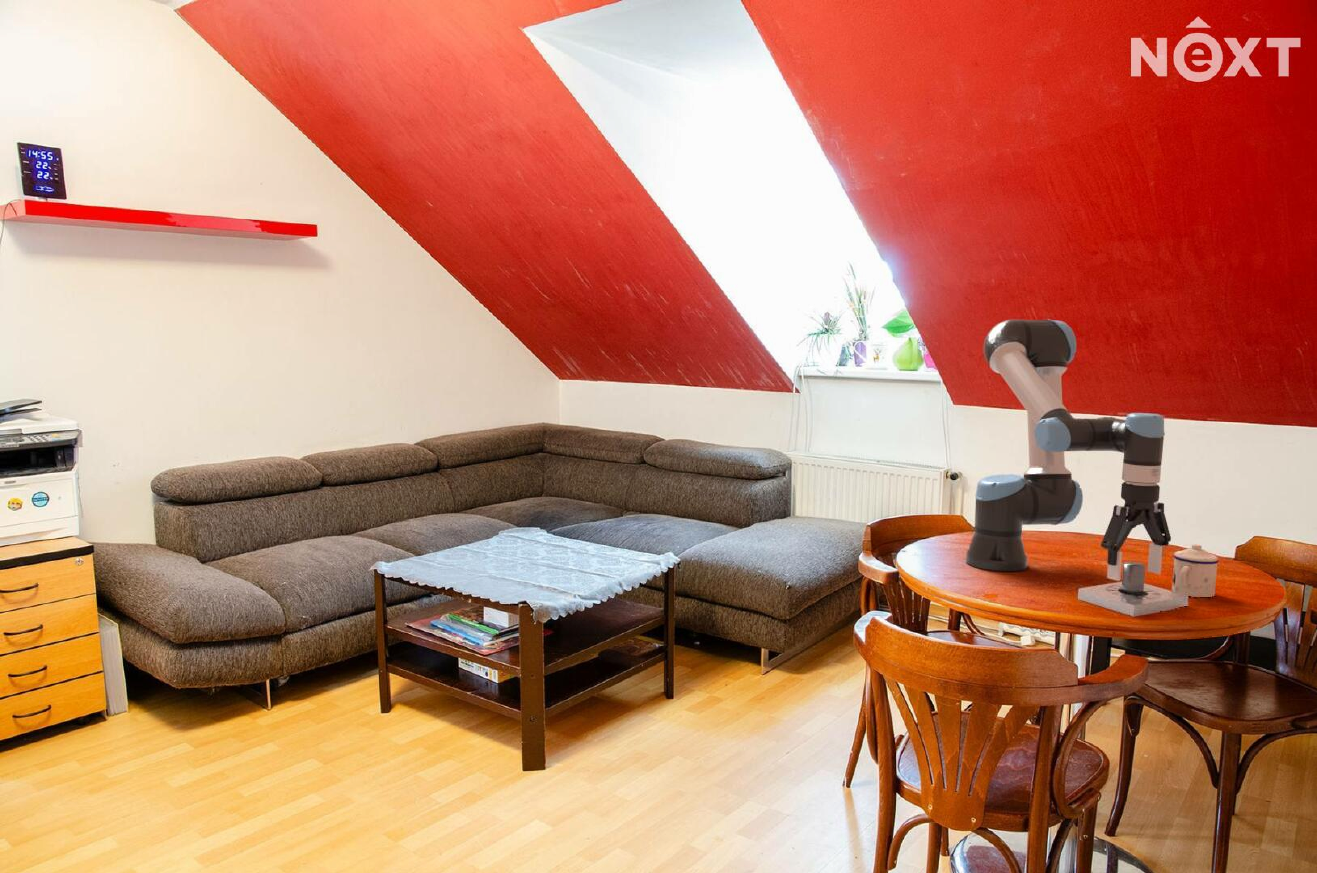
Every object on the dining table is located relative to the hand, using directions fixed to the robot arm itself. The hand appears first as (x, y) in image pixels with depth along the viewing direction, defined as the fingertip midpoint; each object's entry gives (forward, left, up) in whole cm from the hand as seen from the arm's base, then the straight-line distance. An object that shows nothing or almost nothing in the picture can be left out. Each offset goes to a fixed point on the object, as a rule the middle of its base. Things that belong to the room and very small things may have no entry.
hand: (1134, 576), depth 202 cm
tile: (0, 0, -6) cm, 6 cm away
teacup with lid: (+1, +19, -6) cm, 20 cm away
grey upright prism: (0, 0, -6) cm, 6 cm away
